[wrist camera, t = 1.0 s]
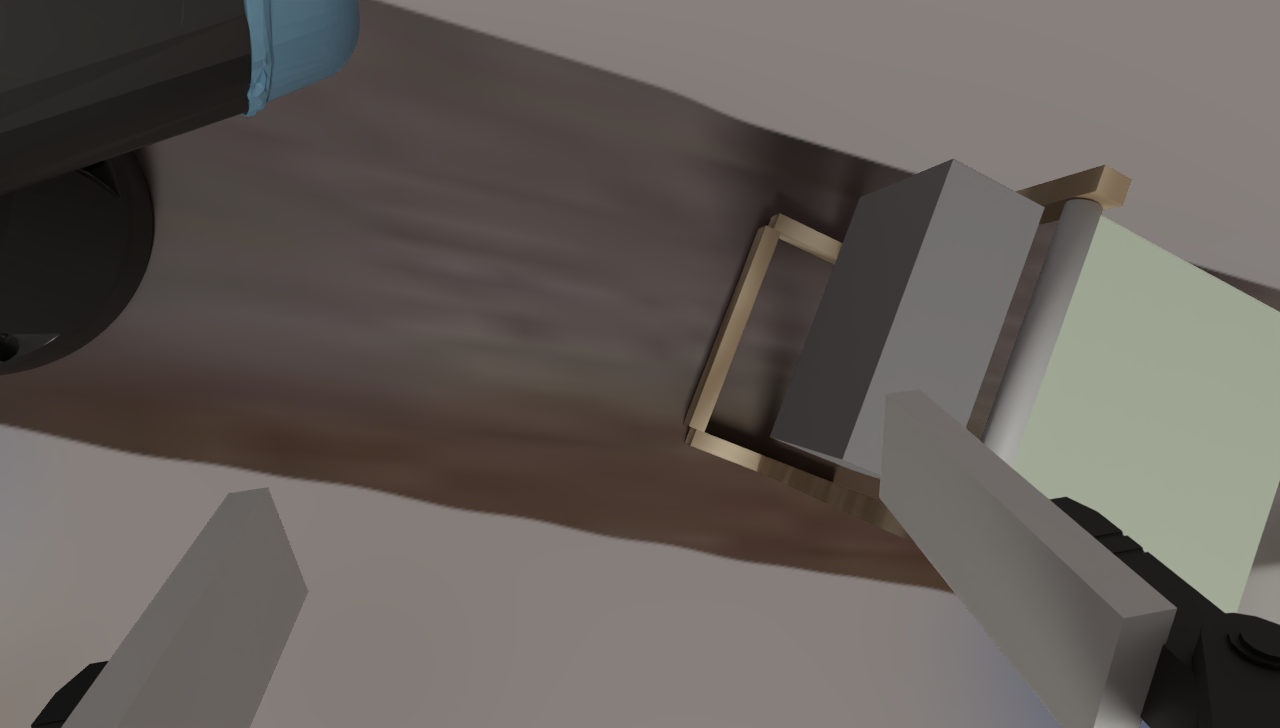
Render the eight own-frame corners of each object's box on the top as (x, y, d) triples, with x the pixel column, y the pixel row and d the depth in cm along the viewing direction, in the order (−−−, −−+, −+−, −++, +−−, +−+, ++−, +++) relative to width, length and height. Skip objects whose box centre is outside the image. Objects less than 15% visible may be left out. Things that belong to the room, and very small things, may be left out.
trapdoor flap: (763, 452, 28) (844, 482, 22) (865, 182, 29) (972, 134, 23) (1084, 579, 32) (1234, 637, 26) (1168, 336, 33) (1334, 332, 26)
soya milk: (1133, 570, 47) (1584, 725, 28) (1023, 592, 45) (1424, 775, 26) (1125, 446, 47) (1576, 515, 27) (1014, 463, 45) (1414, 550, 26)
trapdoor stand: (677, 439, 40) (838, 517, 21) (764, 213, 41) (992, 100, 22) (827, 498, 42) (1092, 614, 24) (907, 282, 43) (1223, 231, 24)
